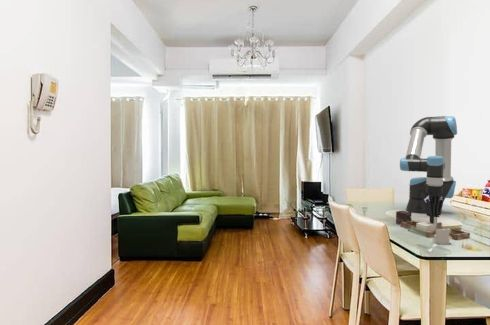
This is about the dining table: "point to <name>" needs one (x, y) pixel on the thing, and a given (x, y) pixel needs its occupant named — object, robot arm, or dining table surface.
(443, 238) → the grey square block
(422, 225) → the block
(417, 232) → the trap channel
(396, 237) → the dining table surface
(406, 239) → the dining table surface
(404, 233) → the dining table surface
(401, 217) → the box
